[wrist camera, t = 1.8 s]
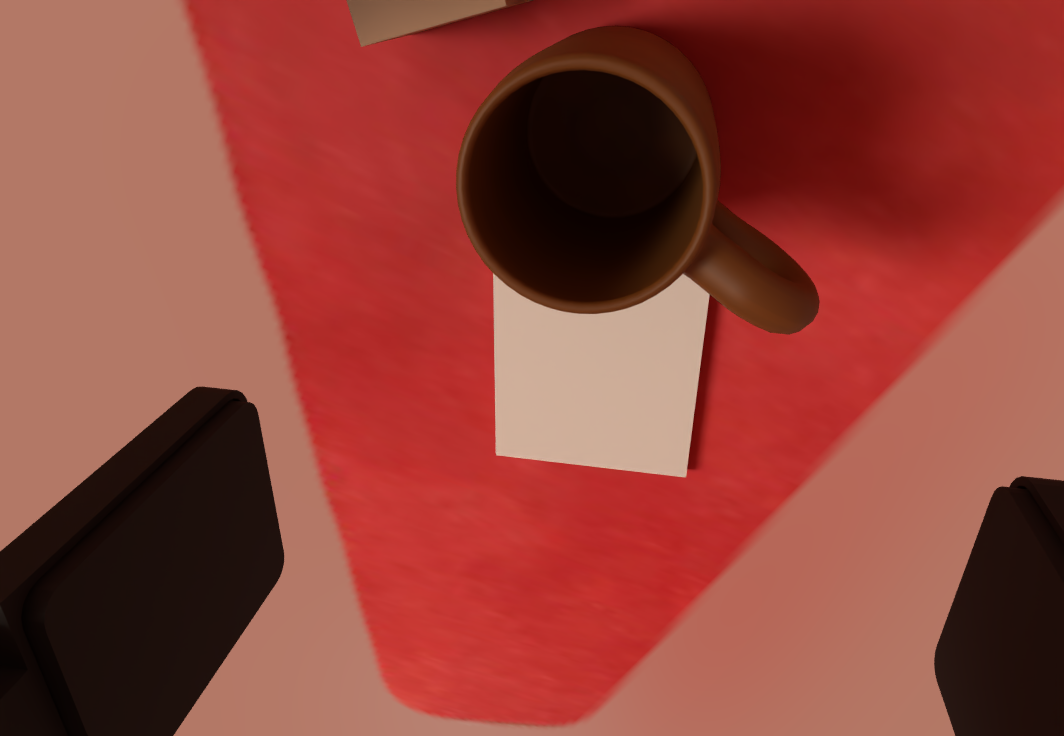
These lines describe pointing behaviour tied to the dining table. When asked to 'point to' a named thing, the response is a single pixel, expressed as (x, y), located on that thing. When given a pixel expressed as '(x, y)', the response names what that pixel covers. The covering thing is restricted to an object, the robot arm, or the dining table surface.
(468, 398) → the dining table surface
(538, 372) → the coaster
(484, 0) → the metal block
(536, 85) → the mug
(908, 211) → the dining table surface
